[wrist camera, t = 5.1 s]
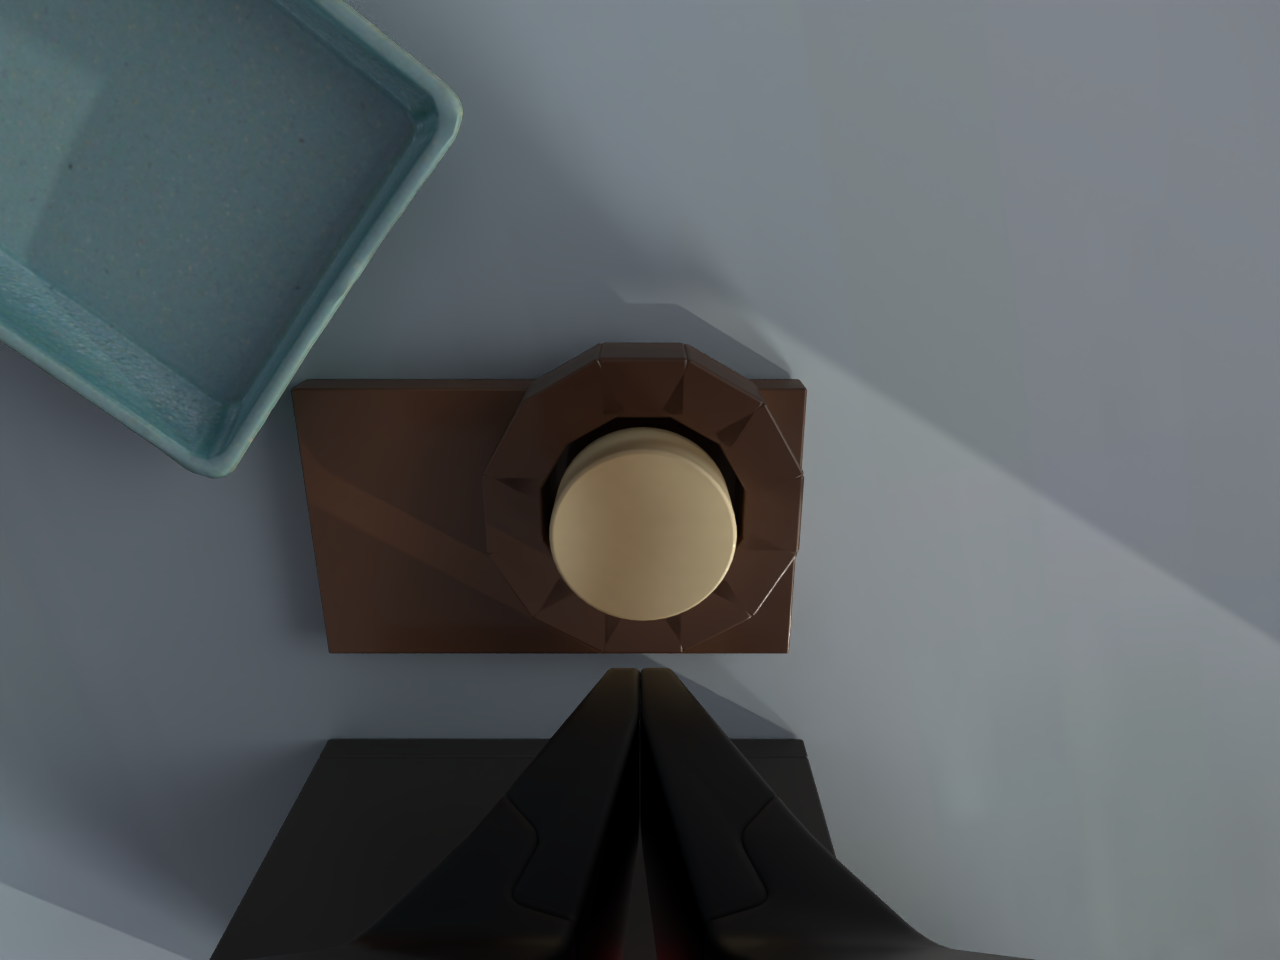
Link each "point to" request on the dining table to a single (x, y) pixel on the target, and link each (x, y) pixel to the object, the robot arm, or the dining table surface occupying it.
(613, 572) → the release button
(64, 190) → the shallow long dish
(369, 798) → the black box
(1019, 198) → the dining table surface
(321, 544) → the release block
